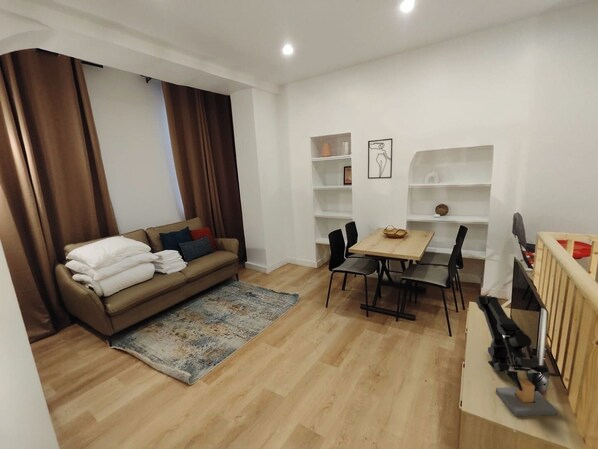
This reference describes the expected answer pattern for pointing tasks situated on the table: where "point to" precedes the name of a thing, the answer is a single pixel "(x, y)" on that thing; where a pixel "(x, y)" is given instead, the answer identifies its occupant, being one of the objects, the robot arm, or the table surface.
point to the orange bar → (526, 391)
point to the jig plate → (525, 409)
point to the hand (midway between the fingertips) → (527, 391)
